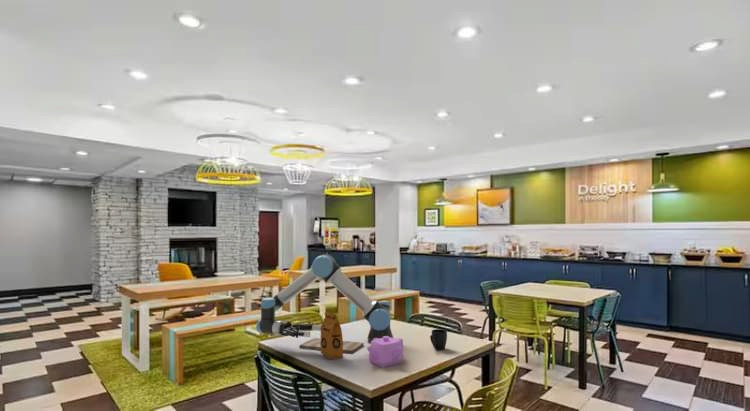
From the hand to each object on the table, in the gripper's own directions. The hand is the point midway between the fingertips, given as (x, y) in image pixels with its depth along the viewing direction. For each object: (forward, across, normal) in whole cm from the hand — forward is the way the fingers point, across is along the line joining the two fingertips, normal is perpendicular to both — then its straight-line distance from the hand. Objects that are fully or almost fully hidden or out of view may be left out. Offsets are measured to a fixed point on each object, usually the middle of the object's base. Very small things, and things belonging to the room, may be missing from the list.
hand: (316, 331), depth 214 cm
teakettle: (+39, 0, -12) cm, 41 cm away
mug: (+58, -29, -12) cm, 66 cm away
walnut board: (+1, -15, -12) cm, 19 cm away
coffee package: (+9, 0, -12) cm, 15 cm away
